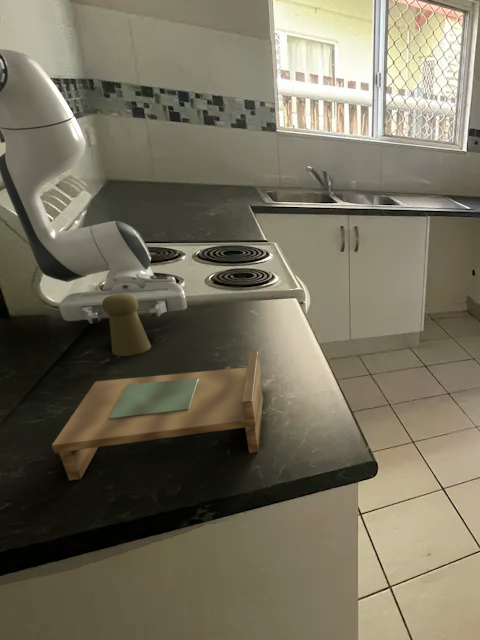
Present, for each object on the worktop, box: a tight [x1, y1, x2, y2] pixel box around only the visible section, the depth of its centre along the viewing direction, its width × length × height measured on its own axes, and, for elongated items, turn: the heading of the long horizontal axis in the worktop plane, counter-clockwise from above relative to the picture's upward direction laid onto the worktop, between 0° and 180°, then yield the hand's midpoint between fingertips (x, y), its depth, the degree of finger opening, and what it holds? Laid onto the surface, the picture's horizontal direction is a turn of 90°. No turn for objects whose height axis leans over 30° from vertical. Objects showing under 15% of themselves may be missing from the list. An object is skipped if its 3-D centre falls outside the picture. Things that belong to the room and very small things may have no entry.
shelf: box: [51, 349, 264, 481], centre depth 69 cm, size 22×16×9 cm
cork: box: [102, 294, 152, 357], centre depth 90 cm, size 6×6×11 cm
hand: (125, 316), depth 92 cm, fingers open, 8 cm apart
